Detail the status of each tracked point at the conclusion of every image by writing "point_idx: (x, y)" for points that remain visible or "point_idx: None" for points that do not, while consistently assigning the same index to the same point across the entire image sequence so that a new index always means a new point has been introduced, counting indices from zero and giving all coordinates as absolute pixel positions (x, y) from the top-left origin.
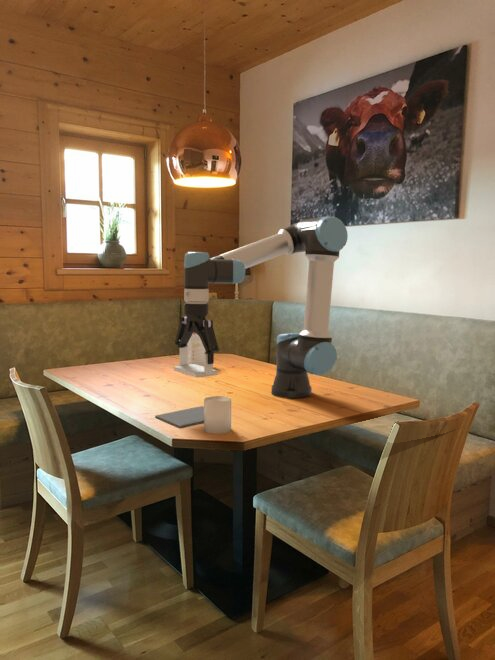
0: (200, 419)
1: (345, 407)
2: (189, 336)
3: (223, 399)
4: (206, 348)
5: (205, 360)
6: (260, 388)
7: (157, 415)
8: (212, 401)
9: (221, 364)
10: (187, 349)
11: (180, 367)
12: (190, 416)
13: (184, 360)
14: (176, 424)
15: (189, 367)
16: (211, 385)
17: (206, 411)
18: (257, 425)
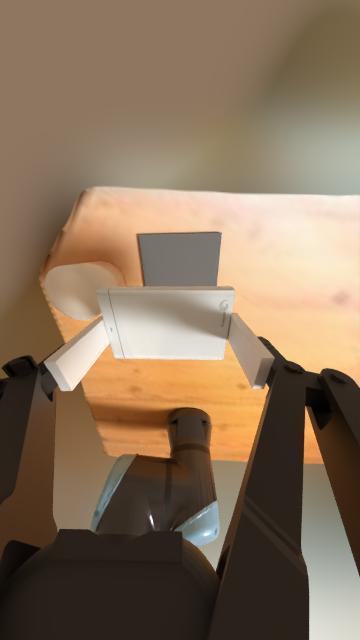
0: (153, 285)
1: (117, 421)
2: (248, 460)
3: (72, 304)
4: (15, 386)
5: (69, 341)
6: (228, 414)
7: (219, 236)
8: (63, 277)
9: None
10: (248, 379)
11: (204, 297)
12: (176, 282)
13: (234, 338)
14: (149, 234)
15: (186, 321)
16: None
17: (79, 263)
18: None
